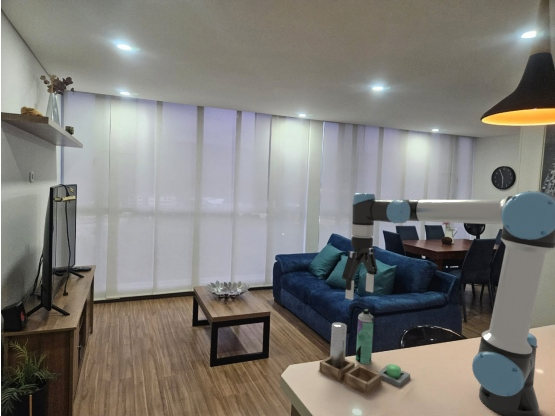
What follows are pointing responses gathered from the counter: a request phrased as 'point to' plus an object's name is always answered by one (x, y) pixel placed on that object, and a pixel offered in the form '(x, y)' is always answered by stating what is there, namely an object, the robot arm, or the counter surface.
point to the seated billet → (338, 345)
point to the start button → (393, 371)
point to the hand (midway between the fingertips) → (359, 295)
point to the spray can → (364, 337)
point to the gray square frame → (397, 382)
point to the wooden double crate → (352, 376)
